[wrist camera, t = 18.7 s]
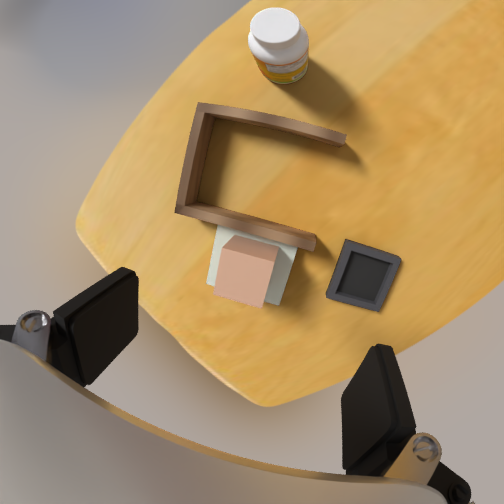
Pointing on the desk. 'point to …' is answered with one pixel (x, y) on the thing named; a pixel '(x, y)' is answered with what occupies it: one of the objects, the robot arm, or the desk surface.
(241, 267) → the terracotta cube
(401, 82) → the desk surface
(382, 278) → the dark gray rectangular tray
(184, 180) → the wooden tray frame
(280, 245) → the sage tile
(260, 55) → the supplement bottle
